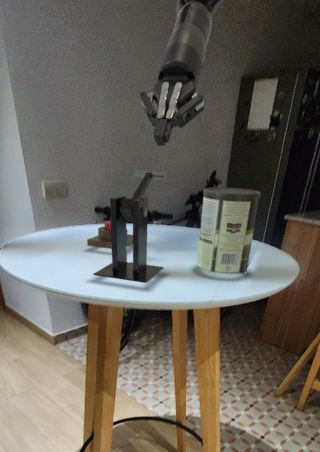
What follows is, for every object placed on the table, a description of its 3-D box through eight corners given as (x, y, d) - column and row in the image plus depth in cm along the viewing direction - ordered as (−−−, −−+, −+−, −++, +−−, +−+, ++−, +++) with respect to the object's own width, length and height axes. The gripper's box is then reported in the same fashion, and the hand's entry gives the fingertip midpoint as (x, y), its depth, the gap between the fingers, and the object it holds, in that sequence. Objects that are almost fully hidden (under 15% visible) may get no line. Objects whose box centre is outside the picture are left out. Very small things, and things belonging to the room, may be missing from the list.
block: (87, 250, 82) (86, 230, 80) (106, 241, 90) (106, 223, 88) (120, 254, 81) (120, 234, 78) (136, 245, 88) (136, 227, 86)
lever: (136, 178, 68) (134, 164, 66) (167, 180, 67) (166, 166, 65) (111, 220, 63) (108, 206, 61) (144, 224, 61) (142, 210, 59)
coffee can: (225, 261, 80) (236, 186, 71) (257, 275, 72) (273, 193, 64) (185, 266, 75) (192, 187, 67) (215, 281, 68) (227, 194, 60)
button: (102, 231, 82) (101, 222, 81) (108, 228, 85) (108, 220, 84) (116, 233, 81) (116, 224, 80) (123, 230, 84) (122, 221, 83)
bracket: (116, 266, 73) (114, 192, 65) (163, 273, 71) (167, 197, 63) (93, 280, 65) (88, 198, 58) (145, 288, 63) (147, 204, 55)
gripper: (146, 40, 68) (121, 121, 65) (216, 40, 65) (192, 124, 62) (154, 83, 75) (132, 156, 73) (217, 84, 72) (196, 161, 70)
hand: (160, 141), depth 68 cm, fingers closed
